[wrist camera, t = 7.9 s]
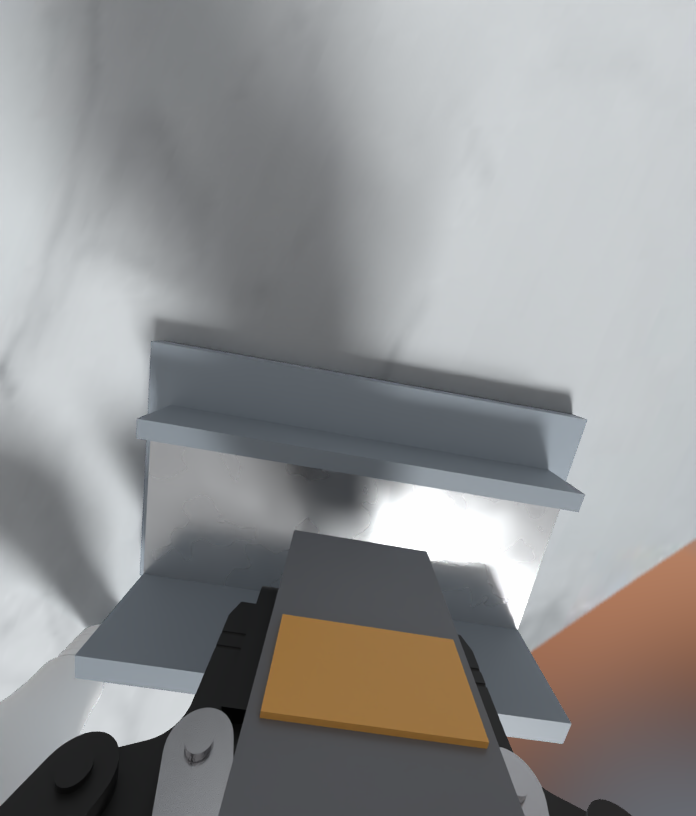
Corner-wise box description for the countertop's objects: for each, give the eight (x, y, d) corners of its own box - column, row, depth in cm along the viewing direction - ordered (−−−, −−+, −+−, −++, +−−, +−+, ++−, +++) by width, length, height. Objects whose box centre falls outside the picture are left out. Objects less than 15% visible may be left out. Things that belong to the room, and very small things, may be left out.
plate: (169, 421, 15) (150, 430, 14) (543, 485, 16) (563, 500, 15) (160, 552, 17) (143, 573, 15) (503, 604, 18) (517, 629, 16)
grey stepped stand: (163, 340, 16) (37, 346, 9) (573, 414, 16) (715, 466, 10) (150, 562, 18) (45, 685, 12) (504, 615, 19) (583, 756, 13)
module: (294, 525, 11) (209, 841, 4) (427, 547, 11) (555, 882, 4) (274, 651, 12) (179, 1065, 5) (395, 669, 12) (457, 1090, 5)
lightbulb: (53, 580, 18) (-357, 928, 8) (165, 591, 19) (-83, 945, 8) (61, 668, 20) (-278, 1068, 9) (165, 678, 20) (-46, 1080, 9)
